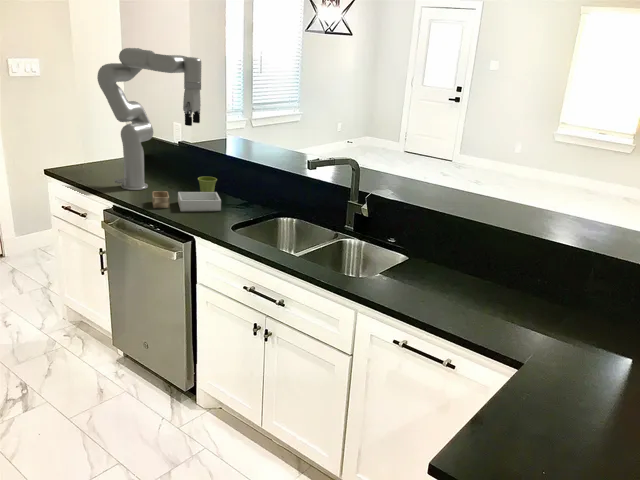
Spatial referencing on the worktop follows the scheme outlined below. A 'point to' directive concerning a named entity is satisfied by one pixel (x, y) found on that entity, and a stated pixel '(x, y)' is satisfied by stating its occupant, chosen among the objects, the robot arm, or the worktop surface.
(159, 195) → the small crate
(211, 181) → the plant pot
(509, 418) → the worktop surface
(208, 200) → the box
